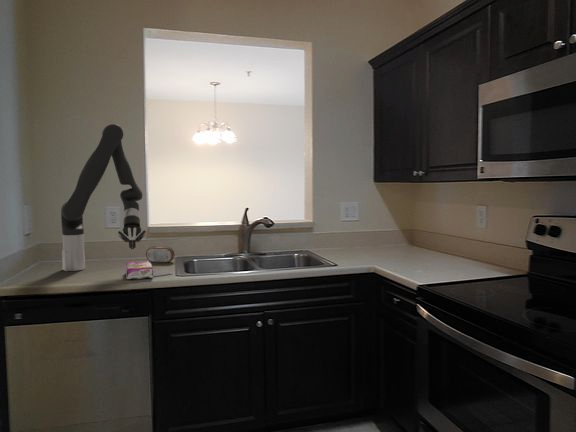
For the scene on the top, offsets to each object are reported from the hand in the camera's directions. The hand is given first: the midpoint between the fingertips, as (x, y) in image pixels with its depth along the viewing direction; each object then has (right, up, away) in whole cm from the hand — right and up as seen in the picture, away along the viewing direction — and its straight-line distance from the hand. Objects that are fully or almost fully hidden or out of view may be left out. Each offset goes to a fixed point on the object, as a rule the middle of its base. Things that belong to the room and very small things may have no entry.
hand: (132, 248), depth 193 cm
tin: (+4, -10, +29) cm, 31 cm away
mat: (+9, -12, -2) cm, 15 cm away
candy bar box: (+1, -9, +4) cm, 10 cm away
